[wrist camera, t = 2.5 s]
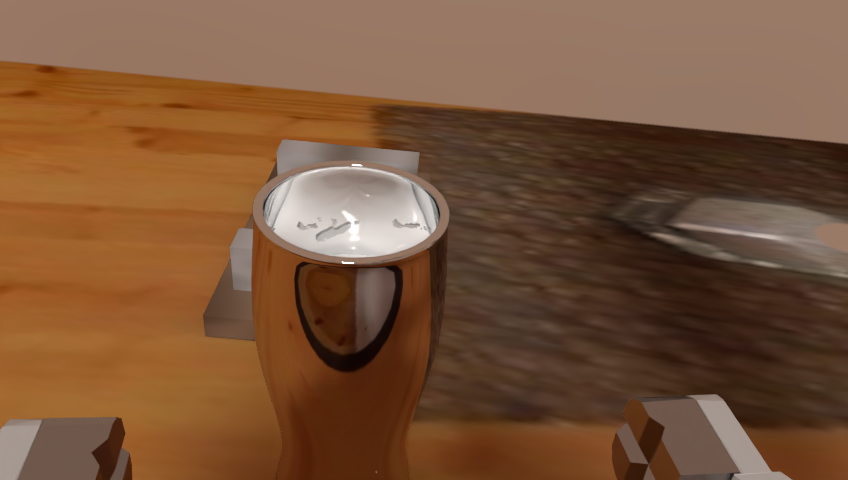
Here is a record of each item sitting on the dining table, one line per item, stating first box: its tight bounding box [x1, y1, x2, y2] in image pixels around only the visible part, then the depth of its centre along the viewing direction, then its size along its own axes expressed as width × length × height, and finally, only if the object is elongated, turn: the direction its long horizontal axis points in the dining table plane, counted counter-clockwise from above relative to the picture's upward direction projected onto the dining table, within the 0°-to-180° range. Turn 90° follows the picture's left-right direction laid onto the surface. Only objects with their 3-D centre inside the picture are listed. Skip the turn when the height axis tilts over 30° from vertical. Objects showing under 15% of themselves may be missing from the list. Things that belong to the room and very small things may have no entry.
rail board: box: [203, 139, 430, 341], centre depth 45 cm, size 12×19×4 cm, turn 178°
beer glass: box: [251, 161, 450, 480], centre depth 27 cm, size 7×7×15 cm
